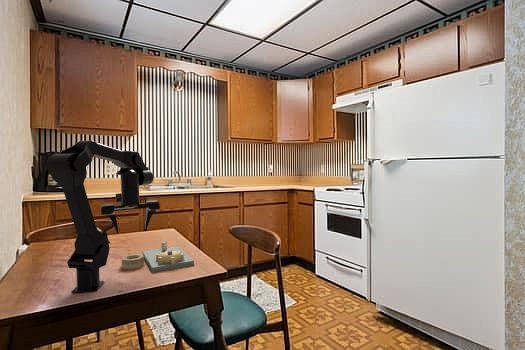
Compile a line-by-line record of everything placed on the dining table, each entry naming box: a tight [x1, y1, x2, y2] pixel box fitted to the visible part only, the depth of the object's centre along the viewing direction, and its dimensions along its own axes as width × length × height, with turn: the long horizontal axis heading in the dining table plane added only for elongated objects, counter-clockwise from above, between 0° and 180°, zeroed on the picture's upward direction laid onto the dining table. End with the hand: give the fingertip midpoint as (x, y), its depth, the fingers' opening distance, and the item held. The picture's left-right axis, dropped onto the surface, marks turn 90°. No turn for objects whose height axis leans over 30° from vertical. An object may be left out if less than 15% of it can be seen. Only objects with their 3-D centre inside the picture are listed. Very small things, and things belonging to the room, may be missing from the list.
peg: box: [160, 241, 168, 253], centre depth 113 cm, size 2×2×4 cm
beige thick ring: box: [121, 253, 145, 270], centre depth 103 cm, size 7×7×3 cm
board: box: [142, 246, 195, 273], centre depth 109 cm, size 22×14×4 cm, turn 30°
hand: (132, 231), depth 103 cm, fingers open, 9 cm apart
